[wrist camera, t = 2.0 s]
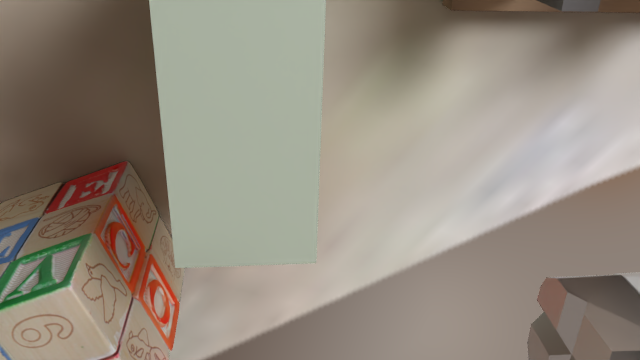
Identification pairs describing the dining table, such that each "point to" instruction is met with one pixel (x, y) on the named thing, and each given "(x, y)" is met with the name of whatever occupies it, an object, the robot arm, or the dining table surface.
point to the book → (241, 127)
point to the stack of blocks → (87, 272)
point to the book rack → (546, 5)
